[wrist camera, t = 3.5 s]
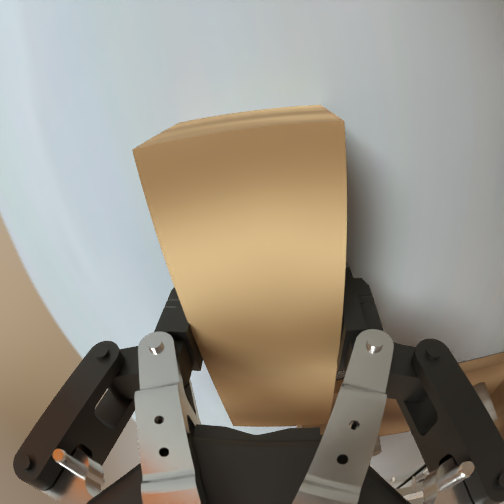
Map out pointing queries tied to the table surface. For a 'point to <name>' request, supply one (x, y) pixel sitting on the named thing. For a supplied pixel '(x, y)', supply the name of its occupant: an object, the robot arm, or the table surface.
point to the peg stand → (480, 376)
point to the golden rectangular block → (257, 252)
